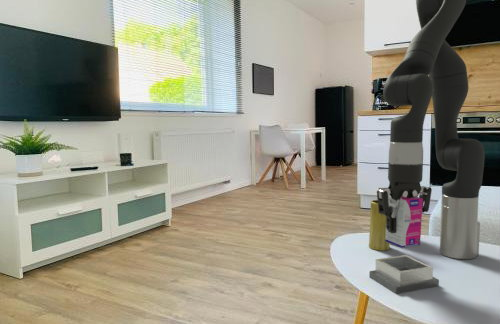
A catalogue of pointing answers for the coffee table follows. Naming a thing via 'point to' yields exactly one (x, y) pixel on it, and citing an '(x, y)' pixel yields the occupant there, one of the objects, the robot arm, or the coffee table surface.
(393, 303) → the coffee table surface
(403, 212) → the supplement box
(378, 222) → the vase
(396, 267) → the square tray
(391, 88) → the robot arm
